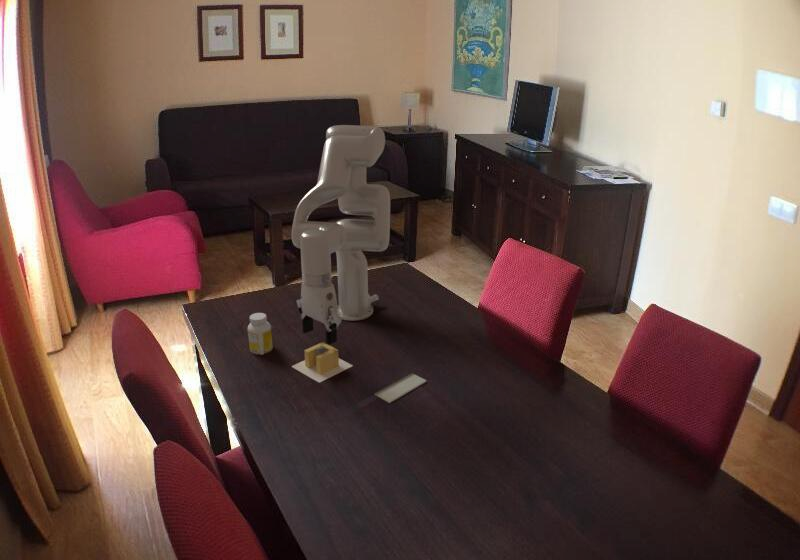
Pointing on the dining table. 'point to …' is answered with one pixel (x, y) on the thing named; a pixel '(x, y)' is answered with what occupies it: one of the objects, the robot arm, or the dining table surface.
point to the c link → (322, 358)
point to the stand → (312, 370)
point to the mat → (400, 387)
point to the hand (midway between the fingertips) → (319, 337)
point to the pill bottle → (259, 334)
